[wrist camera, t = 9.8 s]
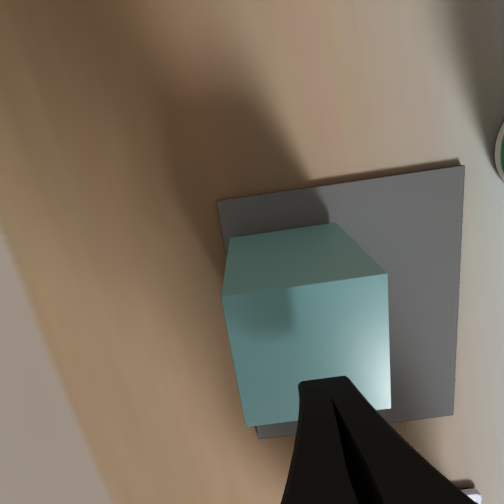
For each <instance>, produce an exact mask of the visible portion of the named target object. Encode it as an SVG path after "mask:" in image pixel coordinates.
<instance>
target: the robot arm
mask: <svg viewBox="0 0 504 504" xmlns="http://www.w3.org/2000/svg"><path fill="white" fill-rule="evenodd" d="M298 392H299V415H298V425H297V432H296V439H295V445H294V451H293V455H292V460H291V465H290V469H289V474H288V478H287V482H286V486H285V490H284V494H283V497H282V501H281V504H481V500H482V497H481V494H480V493H479V491H478V490H476V489H464V490H460V489H459V488H458V487H456V486H455V485H454V484H453V483H451V482H450V481H449V480H448V479H447V478H446V477H444V476H443V475H442V474H441V473H440V472H439V471H438V470H436V469H435V468H434V467H433V466H432V465H431V464H430V463H429V462H428V461H426V460H425V459H424V458H423V457H422V456H421V455H420V454H419V453H418V452H417V451H416V450H415V449H414V448H413V447H411V446H410V445H409V444H408V443H407V442H406V441H405V440H404V439H403V438H402V437H401V436H400V435H399V434H398V433H397V432H396V431H395V430H394V429H393V428H392V426H391V425H390V424H389V423H388V422H387V421H386V420H385V419H384V418H383V417H382V416H381V415H380V414H379V413H378V412H377V411H376V410H375V408H374V407H373V406H372V405H371V404H370V403H369V402H368V401H367V399H366V398H365V397H364V396H363V395H362V394H361V392H360V391H359V390H358V389H357V388H356V386H355V385H354V384H353V383H352V381H351V380H350V379H349V378H348V377H347V376H337V377H330V378H322V379H314V380H307V381H301V382H300V383H299V384H298Z"/></svg>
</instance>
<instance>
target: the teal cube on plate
mask: <svg viewBox="0 0 504 504" xmlns="http://www.w3.org/2000/svg"><path fill="white" fill-rule="evenodd" d="M221 300H222V305H223V310H224V316H225V321H226V326H227V331H228V336H229V341H230V347H231V352H232V357H233V362H234V367H235V373H236V378H237V383H238V388H239V393H240V398H241V404H242V409H243V414H244V419H245V424H246V427H251V426H259V425H267V424H274V423H282V422H290V421H298V415H299V392H298V384H299V383H300V382H301V381H307V380H314V379H322V378H330V377H337V376H347V377H348V378H349V379H350V380H351V381H352V383H353V384H354V385H355V386H356V388H357V389H358V390H359V391H360V392H361V394H362V395H363V396H364V397H365V398H366V399H367V401H368V402H369V403H370V404H371V405H372V406H373V407H374V408H375V410H382V409H390V408H391V384H390V347H389V310H388V274H387V273H386V272H385V271H384V270H383V269H382V268H381V267H380V266H379V265H378V264H377V263H376V262H375V261H374V260H373V259H372V258H371V257H370V256H369V255H368V254H367V253H366V252H365V251H364V250H363V249H362V248H361V247H360V246H359V245H358V244H357V243H356V242H355V241H354V240H353V239H352V238H351V237H350V236H349V235H348V234H347V233H346V232H345V231H344V230H343V229H342V228H341V227H340V226H339V225H338V224H337V223H329V224H322V225H315V226H309V227H302V228H295V229H288V230H281V231H274V232H268V233H261V234H254V235H247V236H240V237H233V238H230V241H229V247H228V254H227V260H226V267H225V274H224V280H223V287H222V293H221Z"/></svg>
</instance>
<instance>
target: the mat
mask: <svg viewBox="0 0 504 504" xmlns="http://www.w3.org/2000/svg"><path fill="white" fill-rule="evenodd" d="M464 176H465V166H464V165H458V166H451V167H445V168H438V169H431V170H424V171H417V172H410V173H404V174H397V175H390V176H383V177H376V178H369V179H362V180H356V181H349V182H342V183H335V184H328V185H321V186H314V187H308V188H301V189H294V190H287V191H280V192H273V193H267V194H260V195H253V196H246V197H239V198H232V199H225V200H219V201H217V207H218V213H219V218H220V224H221V230H222V235H223V241H224V247H225V252H226V258H227V254H228V247H229V241H230V238H233V237H240V236H247V235H254V234H261V233H268V232H274V231H281V230H288V229H295V228H302V227H309V226H315V225H322V224H329V223H337V224H338V225H339V226H340V227H341V228H342V229H343V230H344V231H345V232H346V233H347V234H348V235H349V236H350V237H351V238H352V239H353V240H354V241H355V242H356V243H357V244H358V245H359V246H360V247H361V248H362V249H363V250H364V251H365V252H366V253H367V254H368V255H369V256H370V257H371V258H372V259H373V260H374V261H375V262H376V263H377V264H378V265H379V266H380V267H381V268H382V269H383V270H384V271H385V272H386V273H387V274H388V310H389V347H390V384H391V408H390V409H382V410H376V411H377V412H378V413H379V414H380V415H381V416H382V417H383V418H384V419H385V420H386V421H387V422H388V423H394V422H402V421H410V420H418V419H426V418H434V417H442V416H450V415H453V410H454V389H455V367H456V346H457V325H458V304H459V282H460V261H461V240H462V218H463V197H464ZM297 425H298V421H290V422H282V423H274V424H267V425H259V426H256V428H257V434H258V439H267V438H275V437H283V436H290V435H296V432H297Z"/></svg>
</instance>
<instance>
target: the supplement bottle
mask: <svg viewBox="0 0 504 504" xmlns="http://www.w3.org/2000/svg"><path fill="white" fill-rule="evenodd" d="M495 163H496V167H497V171H498V173H499V175H500V177H501V178H502V180H503V181H504V122H503V124H502V126H501V128H500V130H499V133H498V136H497V140H496V145H495Z"/></svg>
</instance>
